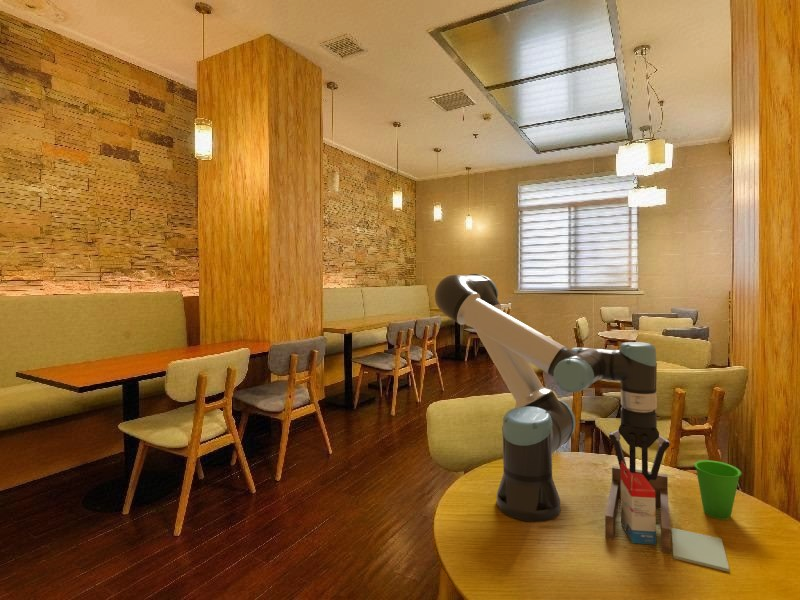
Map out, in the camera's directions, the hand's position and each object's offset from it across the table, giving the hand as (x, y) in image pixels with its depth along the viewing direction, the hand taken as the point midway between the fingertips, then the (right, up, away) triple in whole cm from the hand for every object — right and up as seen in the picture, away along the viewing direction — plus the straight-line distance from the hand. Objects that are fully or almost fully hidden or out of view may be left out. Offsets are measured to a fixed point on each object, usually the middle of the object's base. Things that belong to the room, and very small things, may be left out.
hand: (638, 504), depth 106 cm
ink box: (-5, -2, -9) cm, 11 cm away
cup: (+17, -1, -2) cm, 17 cm away
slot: (-3, -2, -4) cm, 5 cm away
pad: (+4, -2, -15) cm, 16 cm away
